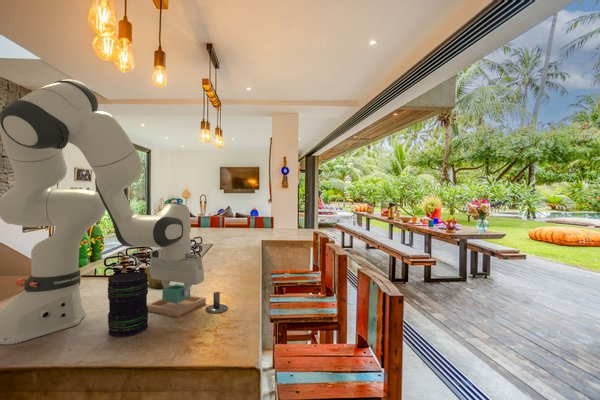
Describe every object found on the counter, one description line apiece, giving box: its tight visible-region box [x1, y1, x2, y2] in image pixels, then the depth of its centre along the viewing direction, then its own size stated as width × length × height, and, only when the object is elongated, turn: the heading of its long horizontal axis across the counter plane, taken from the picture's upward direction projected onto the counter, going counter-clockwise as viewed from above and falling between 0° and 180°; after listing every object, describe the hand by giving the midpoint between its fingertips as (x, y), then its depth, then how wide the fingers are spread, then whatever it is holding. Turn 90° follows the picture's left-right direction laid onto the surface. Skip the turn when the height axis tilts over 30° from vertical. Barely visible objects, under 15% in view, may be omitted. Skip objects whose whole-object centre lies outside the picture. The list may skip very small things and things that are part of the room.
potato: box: [143, 265, 171, 289], centre depth 128 cm, size 8×13×8 cm, turn 36°
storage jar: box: [107, 271, 149, 338], centre depth 88 cm, size 10×10×15 cm
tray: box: [147, 294, 207, 319], centre depth 105 cm, size 13×13×2 cm
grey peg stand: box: [205, 291, 229, 314], centre depth 103 cm, size 7×7×6 cm
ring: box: [161, 283, 191, 304], centre depth 104 cm, size 6×6×4 cm
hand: (176, 294), depth 104 cm, fingers closed on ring, 6 cm apart
